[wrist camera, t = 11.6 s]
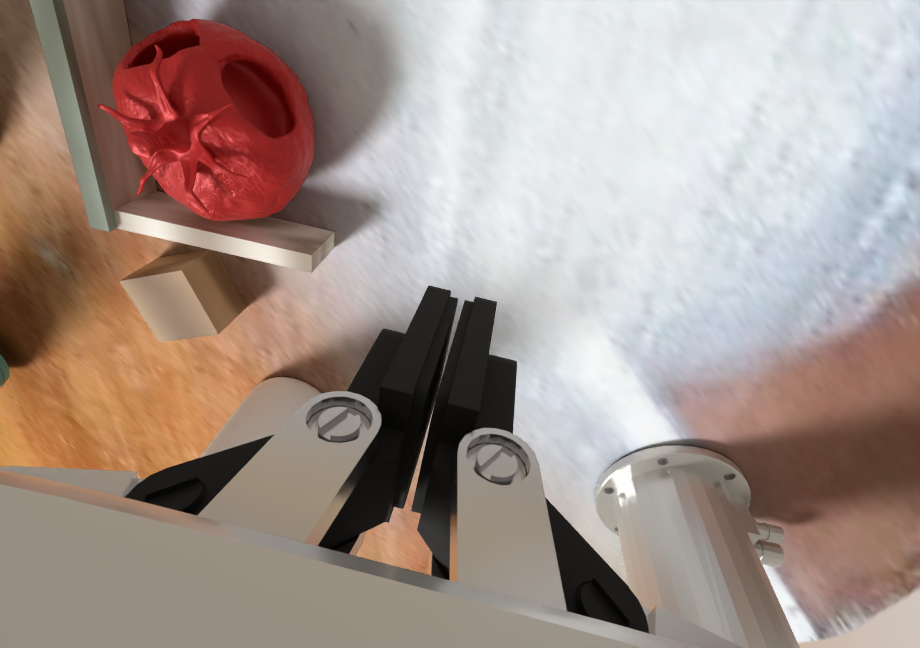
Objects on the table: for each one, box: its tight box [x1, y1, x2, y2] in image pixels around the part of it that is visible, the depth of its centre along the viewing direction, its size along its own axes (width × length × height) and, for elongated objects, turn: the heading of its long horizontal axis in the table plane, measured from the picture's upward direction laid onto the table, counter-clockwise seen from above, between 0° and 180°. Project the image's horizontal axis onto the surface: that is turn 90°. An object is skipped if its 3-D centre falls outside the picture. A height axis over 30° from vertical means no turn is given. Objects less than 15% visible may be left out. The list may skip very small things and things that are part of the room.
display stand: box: [29, 0, 335, 273], centre depth 25 cm, size 14×17×5 cm
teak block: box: [120, 249, 246, 342], centre depth 33 cm, size 5×5×4 cm
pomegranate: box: [97, 19, 315, 221], centre depth 24 cm, size 10×10×9 cm
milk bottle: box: [200, 377, 322, 458], centre depth 32 cm, size 8×8×20 cm
